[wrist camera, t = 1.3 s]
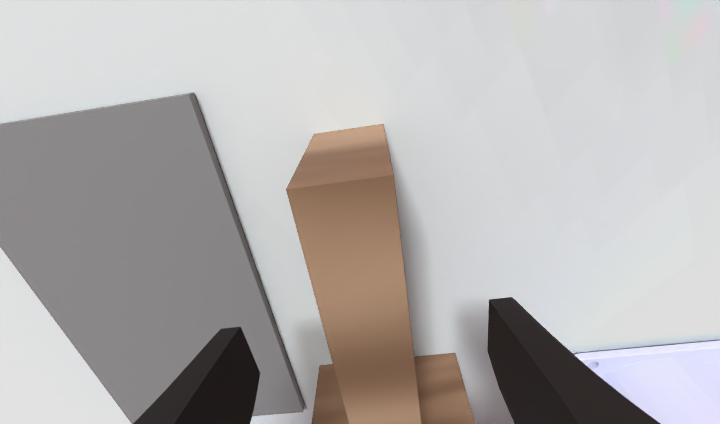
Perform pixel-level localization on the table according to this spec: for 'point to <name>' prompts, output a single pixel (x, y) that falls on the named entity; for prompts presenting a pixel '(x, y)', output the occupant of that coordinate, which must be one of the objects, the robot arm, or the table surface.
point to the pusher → (365, 289)
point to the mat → (136, 246)
